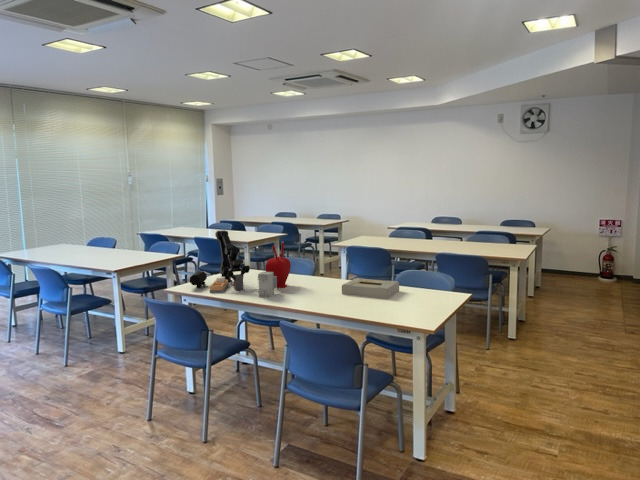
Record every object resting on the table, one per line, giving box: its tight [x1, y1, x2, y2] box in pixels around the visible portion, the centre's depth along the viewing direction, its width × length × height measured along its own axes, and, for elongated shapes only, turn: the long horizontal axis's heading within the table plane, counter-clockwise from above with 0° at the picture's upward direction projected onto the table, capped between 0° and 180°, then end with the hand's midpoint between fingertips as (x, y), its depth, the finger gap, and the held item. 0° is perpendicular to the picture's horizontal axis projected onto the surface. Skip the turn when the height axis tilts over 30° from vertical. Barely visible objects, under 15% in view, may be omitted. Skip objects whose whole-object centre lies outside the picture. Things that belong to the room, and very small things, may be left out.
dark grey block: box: [233, 273, 244, 291], centre depth 319 cm, size 5×5×10 cm
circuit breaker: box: [257, 271, 278, 298], centre depth 304 cm, size 8×14×15 cm, turn 161°
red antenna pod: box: [264, 242, 292, 289], centre depth 326 cm, size 21×13×30 cm, turn 160°
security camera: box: [189, 270, 208, 289], centre depth 331 cm, size 7×18×10 cm, turn 174°
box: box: [341, 277, 400, 300], centre depth 305 cm, size 23×8×32 cm
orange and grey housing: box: [209, 276, 230, 294], centre depth 323 cm, size 21×9×7 cm, turn 0°
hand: (239, 280), depth 318 cm, fingers closed on dark grey block, 5 cm apart
